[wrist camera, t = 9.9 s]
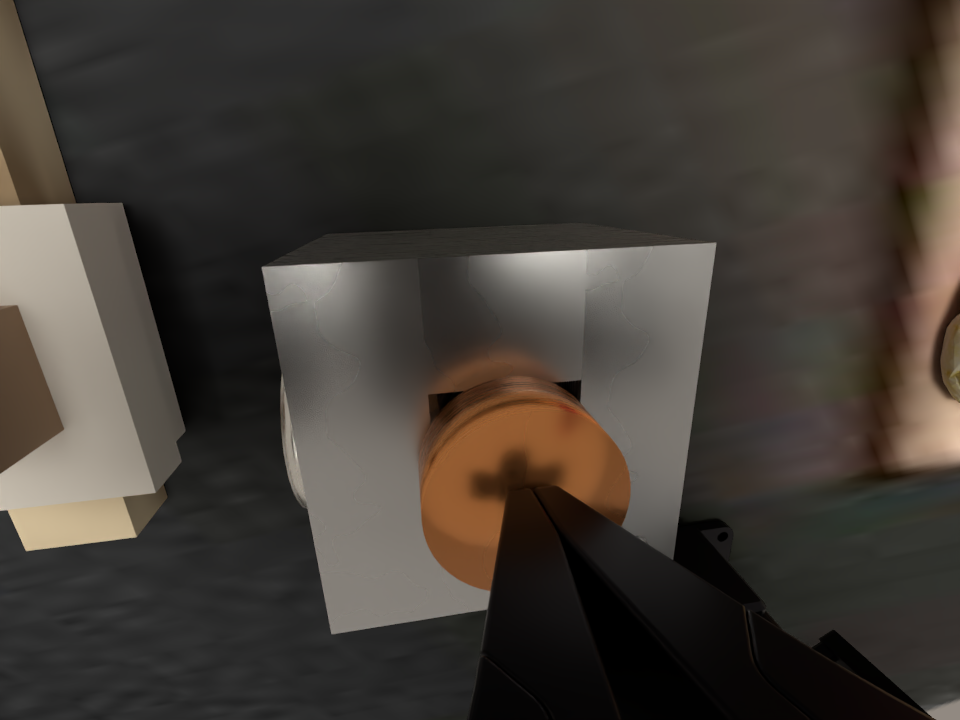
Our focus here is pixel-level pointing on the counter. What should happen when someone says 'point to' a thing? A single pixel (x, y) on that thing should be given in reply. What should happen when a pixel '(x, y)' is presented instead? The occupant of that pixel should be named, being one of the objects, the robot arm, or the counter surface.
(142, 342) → the carriage
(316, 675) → the counter surface
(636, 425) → the cabinet
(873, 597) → the counter surface
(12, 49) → the rail
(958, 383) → the bread roll
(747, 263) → the counter surface
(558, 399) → the plunger
